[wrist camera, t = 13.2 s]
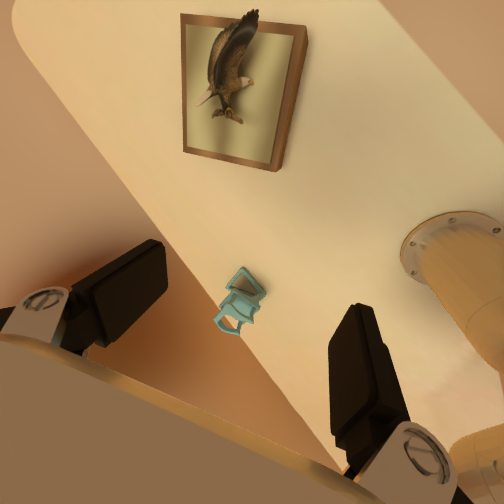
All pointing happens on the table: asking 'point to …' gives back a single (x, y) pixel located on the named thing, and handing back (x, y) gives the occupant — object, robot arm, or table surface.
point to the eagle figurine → (229, 63)
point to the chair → (239, 304)
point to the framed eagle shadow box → (242, 92)
